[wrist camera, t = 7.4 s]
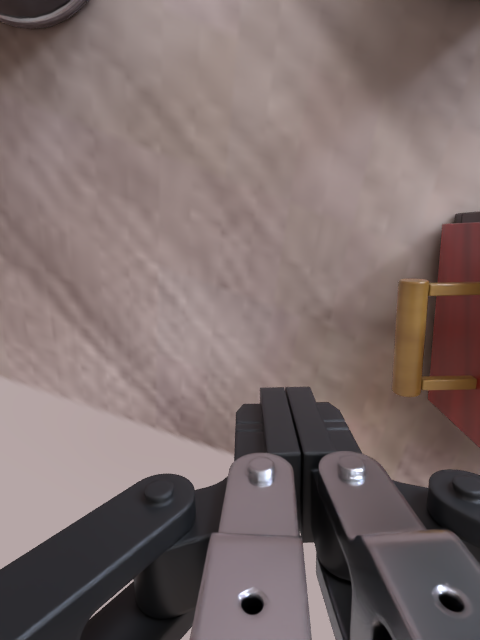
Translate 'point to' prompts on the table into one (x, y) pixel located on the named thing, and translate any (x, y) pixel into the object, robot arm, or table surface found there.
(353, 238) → the table surface
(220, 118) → the table surface
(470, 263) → the drawer
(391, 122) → the table surface
